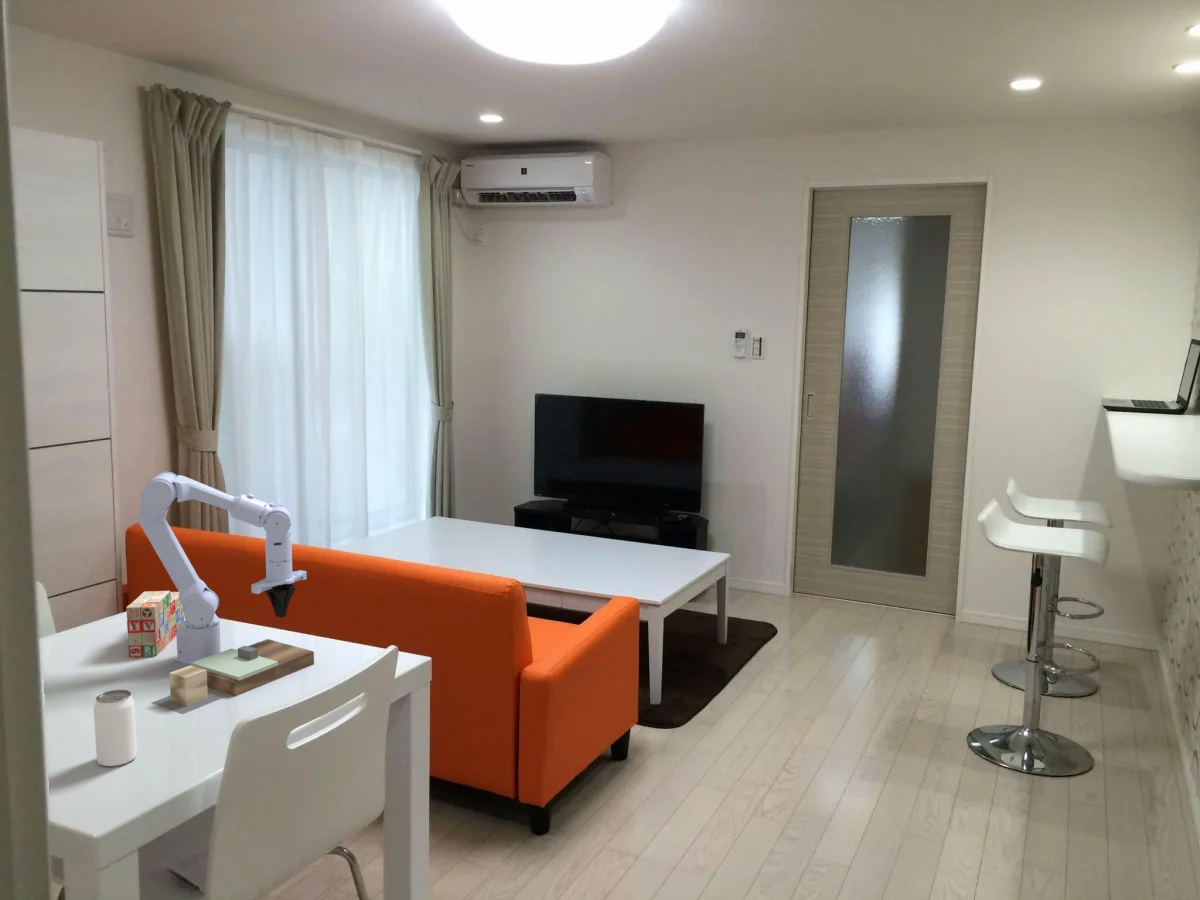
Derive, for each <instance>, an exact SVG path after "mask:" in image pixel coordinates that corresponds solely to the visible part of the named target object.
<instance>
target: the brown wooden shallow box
mask: <svg viewBox="0 0 1200 900" xmlns="http://www.w3.org/2000/svg"><path fill="white" fill-rule="evenodd" d="M248 646H249V647H252V648H256V649H258V656H260V657H263V658H267V659H271V660H274V661H278V666H275V667H272V668H270V669H267V670H265V671H262V672H260V673H257V674H255V675H252V676H249V677H247V678H244V679H242V680H239V681H238V680H234V679H231V678H228V677H225V676H221V675H218V674H215V673H211V672H208V671H207V688H208V689H212V690H215V691H217V692H221V693H225V694H228V695H231V696H234V697H238V696H240V695H243V694H245V693H247V692H250V691H251V690H254V689H257V688H260V687H262V686H264V685H267V684H268V683H269V684H270V683H272V682H274V681H277V680H280V679H281V678H284V677H287V676H289V675H291V674H294V673H296V672H298V671H302V670H304V669H306V668H309V667H312V666H313V665H315V652H314V650H311V649H306V648H302V647H299V646H295V645H291V644H287V643H284V642H281V641H280V642H279V641H277V640H272V639H269V638H268V639H264V640H261V641H259V642H258V641H257V642H256V643H253V644H250V645H248Z"/></svg>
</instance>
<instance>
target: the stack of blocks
mask: <svg viewBox="0 0 1200 900" xmlns="http://www.w3.org/2000/svg"><path fill="white" fill-rule="evenodd" d="M183 621H185V617H184V607H183V605H182V604H181V601H180V596H179V591H171V590H158V591H157V590H156V591H155V590H153V591H152V590H150V591H143V592H142V593H141V594H140V595H139V596H138V597H137V598H136V599H134V600H133V601H132V602H131V603H130V604H128V605H127V606H126V628H127V636H128V658H152V657H151V656H157V655H158V656H159V655H160V654H161V653H162V652H163V651H164V650H165V649H166V648H167V647H168V646H169V645H170V643H171V642H172V641H173V640H174V639H175V638H176V633H177V629H178V627H179V625H180V624H181V623H182V622H183ZM166 646H167V647H166ZM165 647H166V648H165ZM164 648H165V649H164ZM162 650H163V651H162ZM160 652H161V653H160ZM159 653H160V654H159ZM145 656H147V657H145ZM158 656H157V657H158Z"/></svg>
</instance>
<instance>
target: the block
mask: <svg viewBox="0 0 1200 900" xmlns="http://www.w3.org/2000/svg"><path fill="white" fill-rule="evenodd" d="M169 687H170V688H169V689H170V691H169V692H170V695H171V701H173V702H176V703H179V704H182V705H185V706H189V705H191V704H194V703H196V702H199V701H201V700H204V699H206V698H208V692H209V691H208V687H207V670H205V669H201V668H198V667H195V666H191V665H190V664H189V665H187V666H185V667H182V668H179V669H176V670H173V671H171V672H169ZM170 695H169V696H170Z"/></svg>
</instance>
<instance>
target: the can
mask: <svg viewBox="0 0 1200 900" xmlns="http://www.w3.org/2000/svg"><path fill="white" fill-rule="evenodd" d="M95 700H96V701H95V702H94V706H93V715H94V716H93V718H94V719H93V720H94V721H93V722H94V734H95V735H94V736H95V748H96V749H95V750H96V761H97V763H98V765H100V766H101V767H105V768H115V767H120V766H125V765H128V764H130V763H131V762H133V761H134V760H135V759H136V757H137V755H138V745H137V744H138V743H137V724H136V711H135V710H136V708H135V700H134V699H133V697H132V692H131V691H130V690H129V689H112V690H108V691H104V692H101V693H99V694H98V695H97V696H95Z"/></svg>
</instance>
